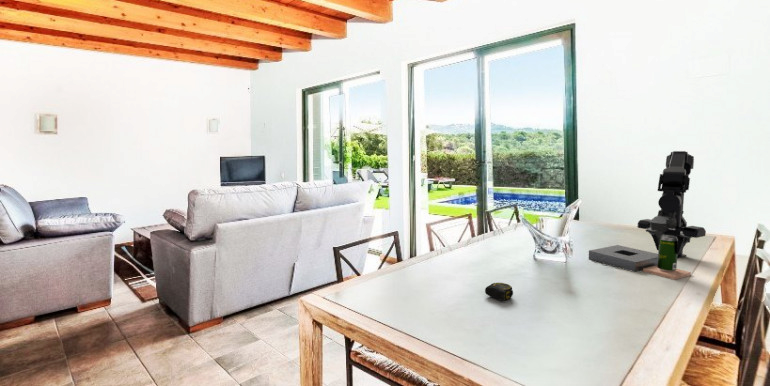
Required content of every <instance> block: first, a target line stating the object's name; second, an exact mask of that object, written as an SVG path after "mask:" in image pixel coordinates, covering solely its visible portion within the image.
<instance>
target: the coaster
mask: <svg viewBox="0 0 770 386" xmlns="http://www.w3.org/2000/svg"><path fill="white" fill-rule="evenodd" d="M642 272H645V273H647V274H650V275H651V274H652V275H655V276H659V277H662V278H667V279H671V280H674V281H675V280H678V279H682V278H686V277H688V276H691V275H692V272H691V271H687V270H684V269H683V270H682V269H680V268H676V271H675V272H663V271H660V270H659V269H658V267H657V265H656V266H652V267H648V268H644V269H643V270H642Z"/></svg>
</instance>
